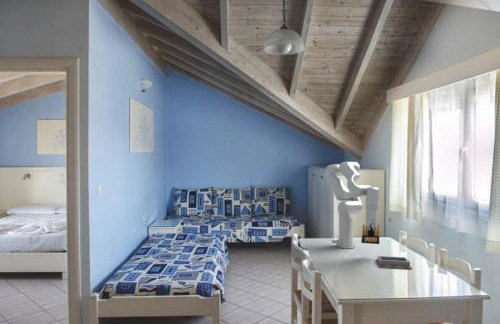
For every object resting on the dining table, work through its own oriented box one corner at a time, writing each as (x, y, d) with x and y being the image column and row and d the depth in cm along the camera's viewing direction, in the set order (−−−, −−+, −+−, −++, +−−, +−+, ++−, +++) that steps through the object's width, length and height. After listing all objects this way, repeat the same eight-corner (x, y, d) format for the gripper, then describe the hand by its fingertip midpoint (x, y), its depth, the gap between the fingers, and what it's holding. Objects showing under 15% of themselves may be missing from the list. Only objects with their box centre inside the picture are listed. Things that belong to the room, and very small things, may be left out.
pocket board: (380, 267, 209) (380, 261, 209) (375, 260, 223) (375, 254, 223) (411, 269, 206) (412, 263, 206) (405, 262, 220) (405, 256, 220)
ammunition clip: (361, 243, 231) (362, 224, 230) (361, 242, 232) (362, 223, 232) (379, 244, 229) (380, 225, 228) (378, 243, 231) (379, 224, 230)
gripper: (363, 204, 238) (362, 232, 239) (367, 208, 222) (366, 238, 223) (375, 205, 237) (374, 233, 238) (380, 209, 221) (379, 239, 222)
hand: (370, 235), depth 230 cm, fingers closed on ammunition clip, 1 cm apart
